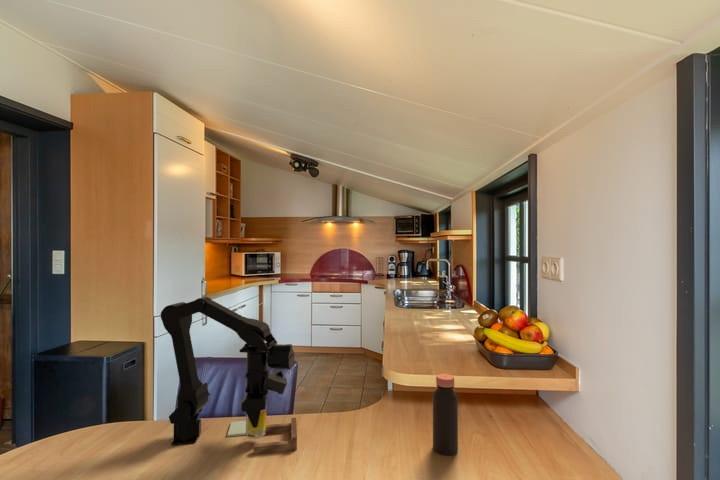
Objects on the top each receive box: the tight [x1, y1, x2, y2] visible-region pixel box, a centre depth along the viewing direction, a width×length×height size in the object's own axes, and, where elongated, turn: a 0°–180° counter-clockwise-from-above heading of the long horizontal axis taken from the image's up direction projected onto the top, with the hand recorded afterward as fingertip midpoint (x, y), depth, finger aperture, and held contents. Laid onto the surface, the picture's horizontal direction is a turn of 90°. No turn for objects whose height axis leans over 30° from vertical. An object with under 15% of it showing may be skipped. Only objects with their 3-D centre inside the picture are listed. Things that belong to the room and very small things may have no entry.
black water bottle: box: [432, 373, 459, 456], centre depth 103 cm, size 7×7×20 cm
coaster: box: [226, 420, 246, 438], centre depth 113 cm, size 8×8×1 cm
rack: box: [253, 417, 298, 455], centre depth 107 cm, size 12×12×4 cm
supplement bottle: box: [245, 408, 267, 440], centre depth 106 cm, size 6×6×10 cm
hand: (256, 422), depth 106 cm, fingers closed on supplement bottle, 5 cm apart
